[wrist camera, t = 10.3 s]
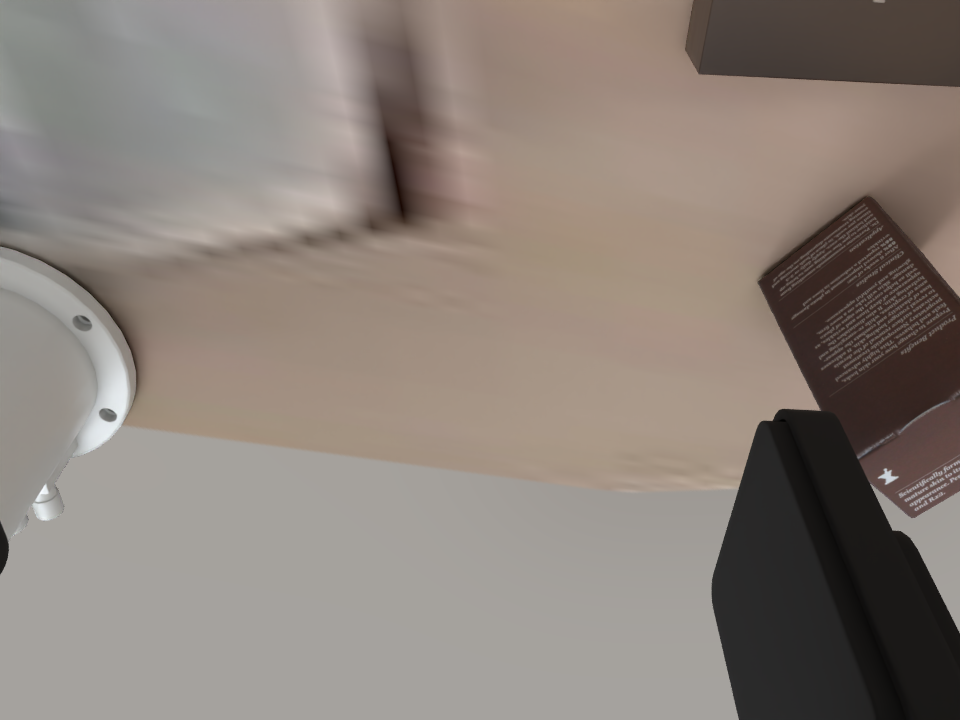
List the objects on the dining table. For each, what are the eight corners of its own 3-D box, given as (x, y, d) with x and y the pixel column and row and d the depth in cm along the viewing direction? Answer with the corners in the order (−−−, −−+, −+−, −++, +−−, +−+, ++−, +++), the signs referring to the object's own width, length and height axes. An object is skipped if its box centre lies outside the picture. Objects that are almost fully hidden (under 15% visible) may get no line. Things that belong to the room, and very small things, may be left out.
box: (813, 336, 40) (910, 526, 30) (753, 279, 38) (836, 461, 29) (930, 253, 37) (1078, 432, 27) (871, 188, 36) (1006, 354, 26)
